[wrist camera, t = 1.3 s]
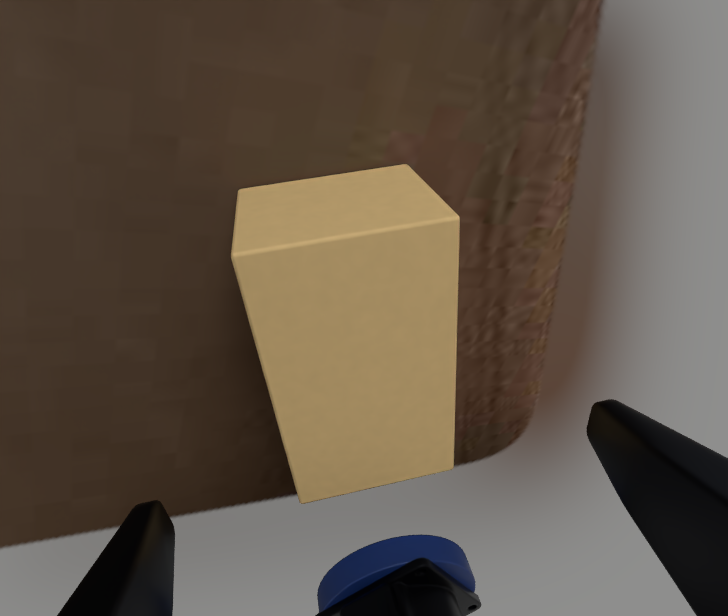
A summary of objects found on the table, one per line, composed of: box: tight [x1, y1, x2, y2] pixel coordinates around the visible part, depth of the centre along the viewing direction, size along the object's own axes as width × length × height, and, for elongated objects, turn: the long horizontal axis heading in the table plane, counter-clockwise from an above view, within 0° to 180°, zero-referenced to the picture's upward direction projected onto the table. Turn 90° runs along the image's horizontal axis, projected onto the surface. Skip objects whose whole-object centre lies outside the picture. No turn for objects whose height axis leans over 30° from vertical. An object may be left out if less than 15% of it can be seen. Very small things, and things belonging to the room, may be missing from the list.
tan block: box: [231, 164, 460, 504], centre depth 13 cm, size 8×5×4 cm, turn 5°
